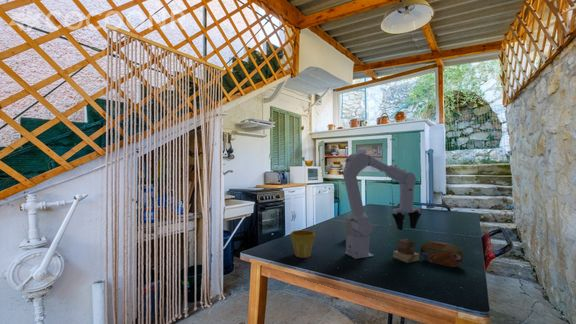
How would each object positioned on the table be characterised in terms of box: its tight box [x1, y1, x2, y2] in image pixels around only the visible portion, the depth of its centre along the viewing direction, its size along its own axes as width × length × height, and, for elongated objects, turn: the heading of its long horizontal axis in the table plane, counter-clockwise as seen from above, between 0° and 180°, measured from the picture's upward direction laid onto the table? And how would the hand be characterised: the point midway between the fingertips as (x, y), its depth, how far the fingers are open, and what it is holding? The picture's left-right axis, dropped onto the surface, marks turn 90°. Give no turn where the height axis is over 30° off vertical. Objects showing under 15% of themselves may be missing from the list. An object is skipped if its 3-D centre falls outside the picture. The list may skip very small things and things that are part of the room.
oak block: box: [393, 250, 420, 264], centre depth 113 cm, size 7×7×3 cm
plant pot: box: [290, 229, 316, 259], centre depth 116 cm, size 10×10×10 cm
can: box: [344, 216, 352, 240], centre depth 140 cm, size 8×8×12 cm
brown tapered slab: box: [419, 240, 465, 268], centre depth 108 cm, size 15×3×8 cm, turn 48°
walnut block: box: [397, 238, 415, 255], centre depth 113 cm, size 4×4×5 cm
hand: (406, 228), depth 122 cm, fingers open, 7 cm apart
